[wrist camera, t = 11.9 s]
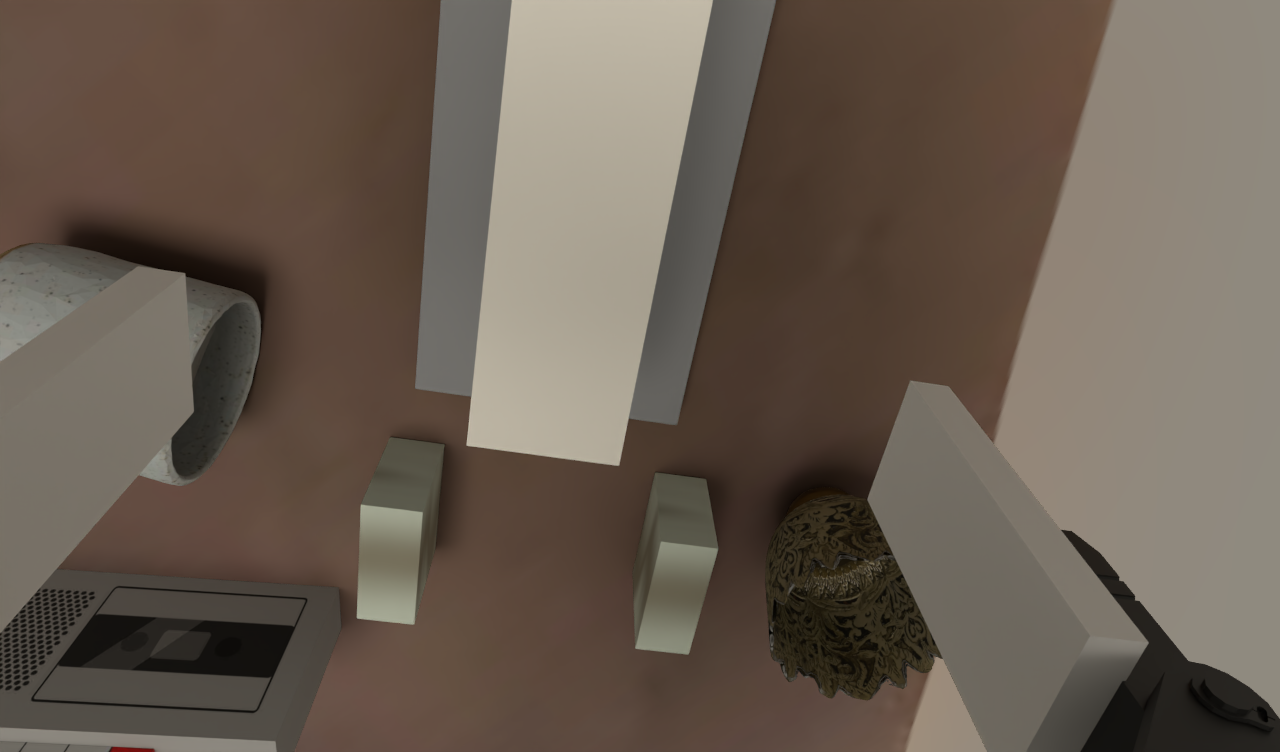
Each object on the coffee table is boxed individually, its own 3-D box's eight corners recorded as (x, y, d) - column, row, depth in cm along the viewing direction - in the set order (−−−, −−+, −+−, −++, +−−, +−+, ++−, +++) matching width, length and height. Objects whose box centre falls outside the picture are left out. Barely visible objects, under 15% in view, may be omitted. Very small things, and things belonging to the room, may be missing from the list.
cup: (930, 492, 40) (999, 612, 33) (831, 593, 43) (876, 725, 36) (807, 419, 38) (853, 531, 31) (711, 531, 41) (733, 657, 34)
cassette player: (339, 586, 42) (266, 763, 33) (341, 626, 43) (272, 808, 34) (4, 564, 40) (-166, 742, 32) (17, 607, 42) (-143, 789, 33)
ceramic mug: (52, 205, 32) (-97, 282, 26) (271, 263, 34) (185, 351, 27) (56, 430, 37) (-68, 545, 30) (248, 473, 38) (170, 592, 32)
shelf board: (530, -114, 22) (523, -117, 20) (718, -75, 22) (728, -75, 21) (475, 414, 29) (466, 445, 27) (618, 433, 30) (619, 466, 28)
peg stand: (674, 407, 37) (687, 502, 31) (422, 372, 36) (383, 463, 30) (799, -140, 28) (854, -160, 22) (463, -213, 27) (418, -257, 20)
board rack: (680, 578, 42) (688, 654, 37) (384, 542, 40) (356, 618, 36) (706, 479, 39) (718, 548, 35) (390, 437, 38) (360, 504, 33)
